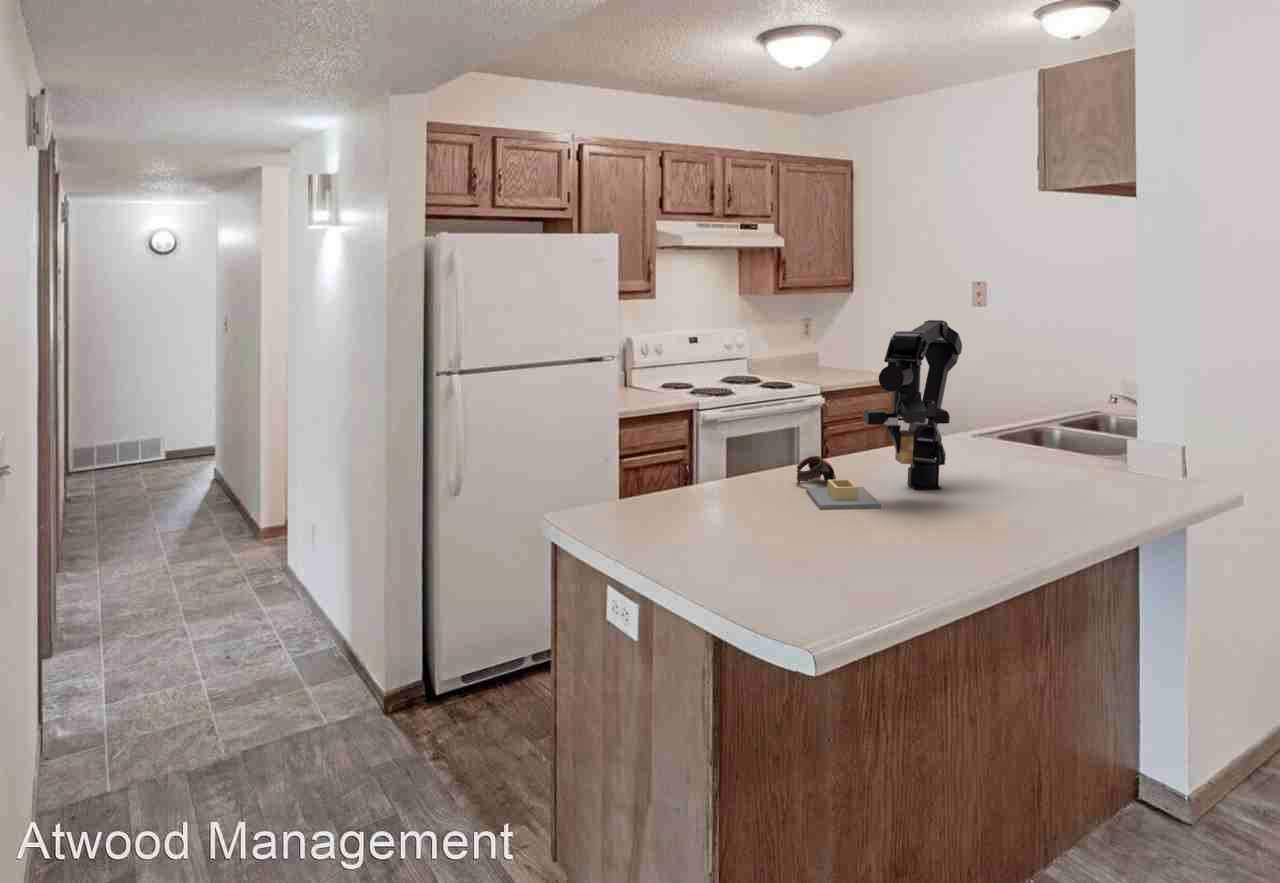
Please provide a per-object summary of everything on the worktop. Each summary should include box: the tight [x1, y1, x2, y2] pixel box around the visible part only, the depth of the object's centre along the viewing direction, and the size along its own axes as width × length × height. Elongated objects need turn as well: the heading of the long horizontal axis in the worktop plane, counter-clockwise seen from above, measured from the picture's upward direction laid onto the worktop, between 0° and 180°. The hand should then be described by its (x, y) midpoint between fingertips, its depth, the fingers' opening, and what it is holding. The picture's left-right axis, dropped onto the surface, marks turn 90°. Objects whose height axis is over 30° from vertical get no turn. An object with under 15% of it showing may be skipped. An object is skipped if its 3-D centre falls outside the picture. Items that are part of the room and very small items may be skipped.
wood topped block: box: [894, 429, 914, 465], centre depth 202 cm, size 2×5×7 cm, turn 0°
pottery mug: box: [796, 455, 837, 485], centre depth 222 cm, size 12×10×8 cm
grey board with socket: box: [805, 478, 882, 510], centre depth 205 cm, size 14×16×4 cm
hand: (904, 452), depth 202 cm, fingers closed on wood topped block, 2 cm apart
